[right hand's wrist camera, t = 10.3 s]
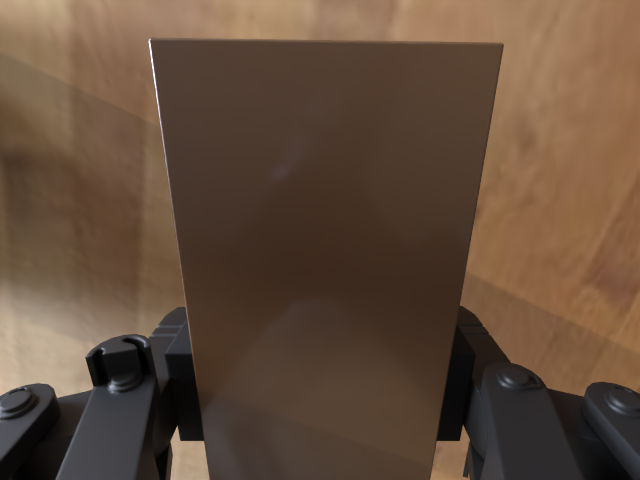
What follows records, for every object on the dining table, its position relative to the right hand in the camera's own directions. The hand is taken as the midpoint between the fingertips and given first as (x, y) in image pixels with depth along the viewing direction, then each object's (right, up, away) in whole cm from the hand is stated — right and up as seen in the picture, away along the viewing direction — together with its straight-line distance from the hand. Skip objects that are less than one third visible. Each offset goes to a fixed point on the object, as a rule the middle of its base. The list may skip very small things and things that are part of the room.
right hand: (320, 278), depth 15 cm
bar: (0, -26, +10) cm, 28 cm away
